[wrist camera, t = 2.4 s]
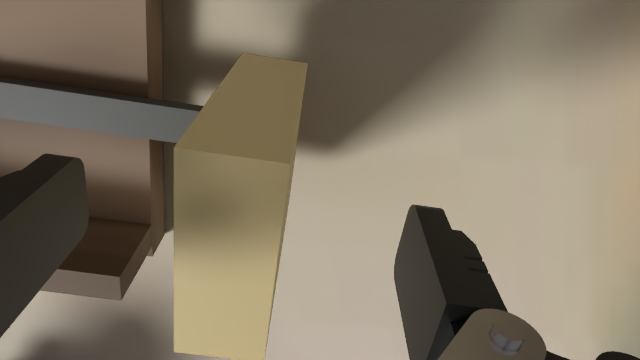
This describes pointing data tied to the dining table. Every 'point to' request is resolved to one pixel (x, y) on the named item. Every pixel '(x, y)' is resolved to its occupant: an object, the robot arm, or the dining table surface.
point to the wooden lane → (90, 146)
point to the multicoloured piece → (206, 188)
